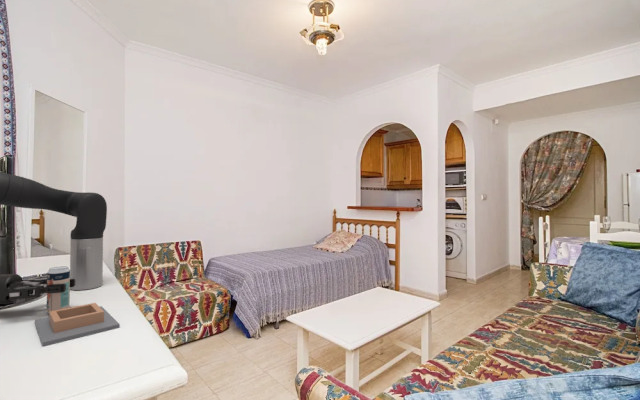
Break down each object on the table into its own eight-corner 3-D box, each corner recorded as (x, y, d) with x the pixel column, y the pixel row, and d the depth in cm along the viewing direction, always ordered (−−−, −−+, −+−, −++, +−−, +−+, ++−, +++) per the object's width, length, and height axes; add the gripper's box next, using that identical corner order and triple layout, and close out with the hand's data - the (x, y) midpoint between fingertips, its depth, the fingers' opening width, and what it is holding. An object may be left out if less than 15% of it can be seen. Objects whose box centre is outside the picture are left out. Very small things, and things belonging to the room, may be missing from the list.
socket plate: (34, 322, 78) (34, 309, 78) (101, 309, 88) (101, 297, 88) (42, 346, 66) (42, 330, 66) (119, 327, 76) (119, 313, 76)
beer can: (50, 309, 87) (51, 266, 87) (71, 307, 89) (72, 265, 89) (43, 315, 83) (44, 270, 83) (65, 313, 85) (66, 269, 85)
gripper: (-28, 282, 75) (57, 277, 80) (11, 269, 89) (82, 266, 94) (-29, 313, 75) (56, 307, 80) (11, 295, 89) (81, 291, 93)
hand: (69, 285), depth 87 cm, fingers closed on beer can, 4 cm apart
